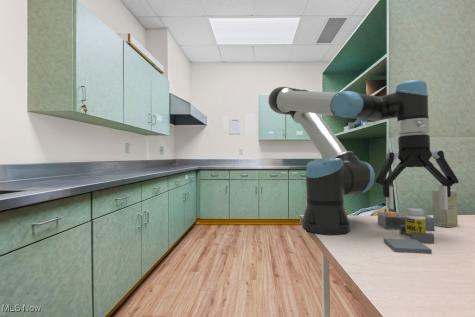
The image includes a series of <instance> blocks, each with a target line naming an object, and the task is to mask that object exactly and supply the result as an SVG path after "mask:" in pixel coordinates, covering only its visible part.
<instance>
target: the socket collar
mask: <svg viewBox="0 0 475 317" xmlns="http://www.w3.org/2000/svg"><path fill="white" fill-rule="evenodd" d="M399 234H400V235H404V236H406V225H400V230H399ZM411 234H412V239H415V240H418V241H419V242H421V243H422V244H431V245H432V244H433V245H434V244H435V234H434V233H432V232H426V233H420V232H411Z"/></svg>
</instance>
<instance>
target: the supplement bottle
mask: <svg viewBox="0 0 475 317" xmlns="http://www.w3.org/2000/svg"><path fill="white" fill-rule="evenodd" d="M406 213H407V215H406V235H405V237H406V239H412V234H411V232H420V233H427V231H426V218H425V217H424V216H423V215H424V214H425V211H424V209H423V208H417V207H407V208H406Z"/></svg>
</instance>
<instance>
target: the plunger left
mask: <svg viewBox="0 0 475 317" xmlns="http://www.w3.org/2000/svg"><path fill="white" fill-rule="evenodd" d="M385 212H386V216H397V214H396V213H397V212H396V211H387V210H386V211H385Z"/></svg>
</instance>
